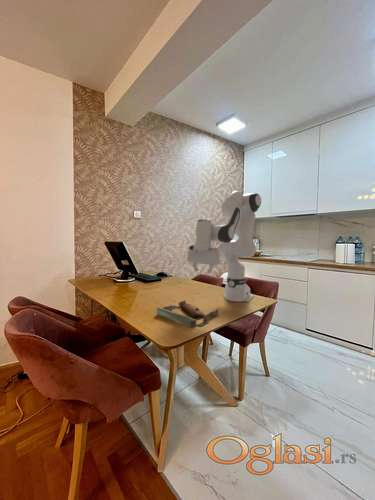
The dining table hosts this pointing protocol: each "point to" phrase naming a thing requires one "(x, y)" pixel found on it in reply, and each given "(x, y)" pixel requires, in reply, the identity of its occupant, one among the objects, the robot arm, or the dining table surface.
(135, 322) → the dining table surface
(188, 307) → the brown oblong lump
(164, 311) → the trap lane
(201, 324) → the mats
